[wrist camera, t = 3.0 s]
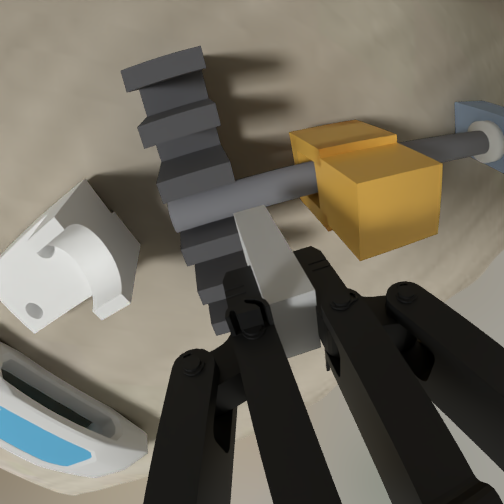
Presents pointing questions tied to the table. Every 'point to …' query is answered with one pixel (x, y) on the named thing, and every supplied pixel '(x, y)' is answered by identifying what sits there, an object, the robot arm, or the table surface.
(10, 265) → the bracket
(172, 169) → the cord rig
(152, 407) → the table surface
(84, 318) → the table surface
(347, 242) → the yellow notched block
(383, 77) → the table surface
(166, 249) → the table surface
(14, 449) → the document scanner
